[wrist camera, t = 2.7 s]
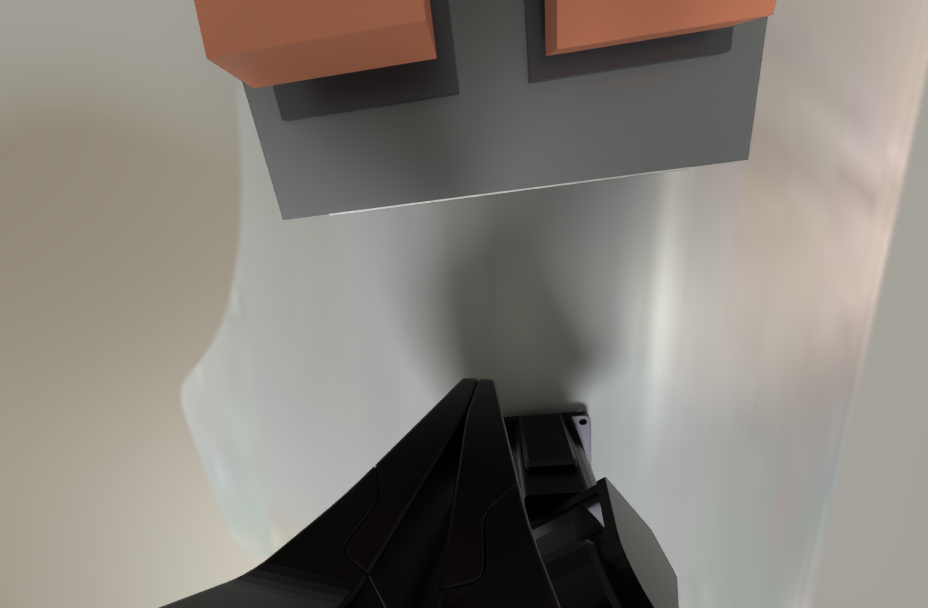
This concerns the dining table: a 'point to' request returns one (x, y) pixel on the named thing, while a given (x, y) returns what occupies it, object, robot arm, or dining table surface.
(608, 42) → the block
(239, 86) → the dining table surface
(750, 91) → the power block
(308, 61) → the block
